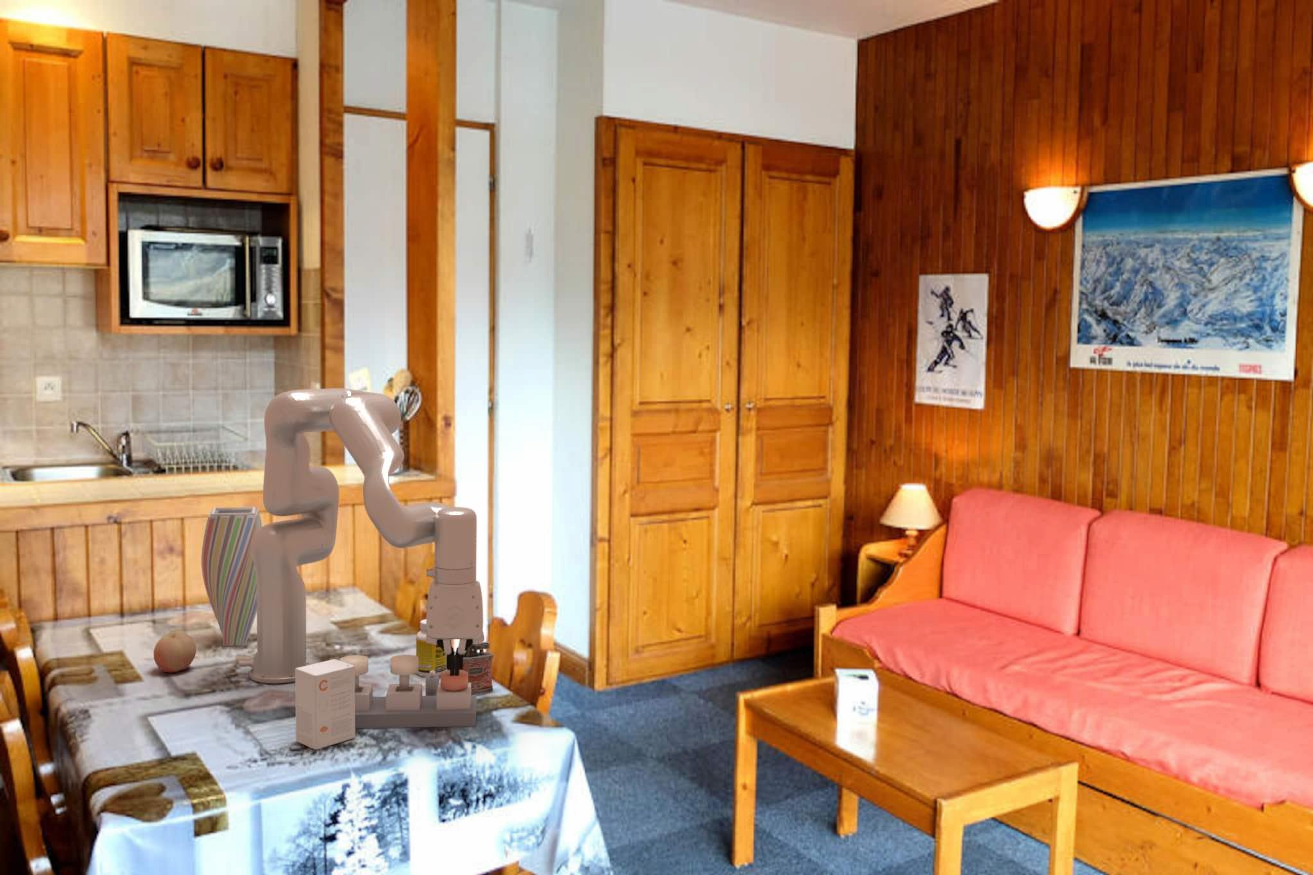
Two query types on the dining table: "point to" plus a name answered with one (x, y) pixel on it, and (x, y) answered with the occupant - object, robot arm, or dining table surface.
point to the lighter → (479, 668)
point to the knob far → (454, 680)
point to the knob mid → (404, 668)
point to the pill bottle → (428, 654)
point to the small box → (325, 703)
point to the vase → (231, 570)
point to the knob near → (357, 665)
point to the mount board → (414, 707)
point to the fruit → (174, 651)
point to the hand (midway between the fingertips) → (454, 673)
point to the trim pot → (431, 684)
